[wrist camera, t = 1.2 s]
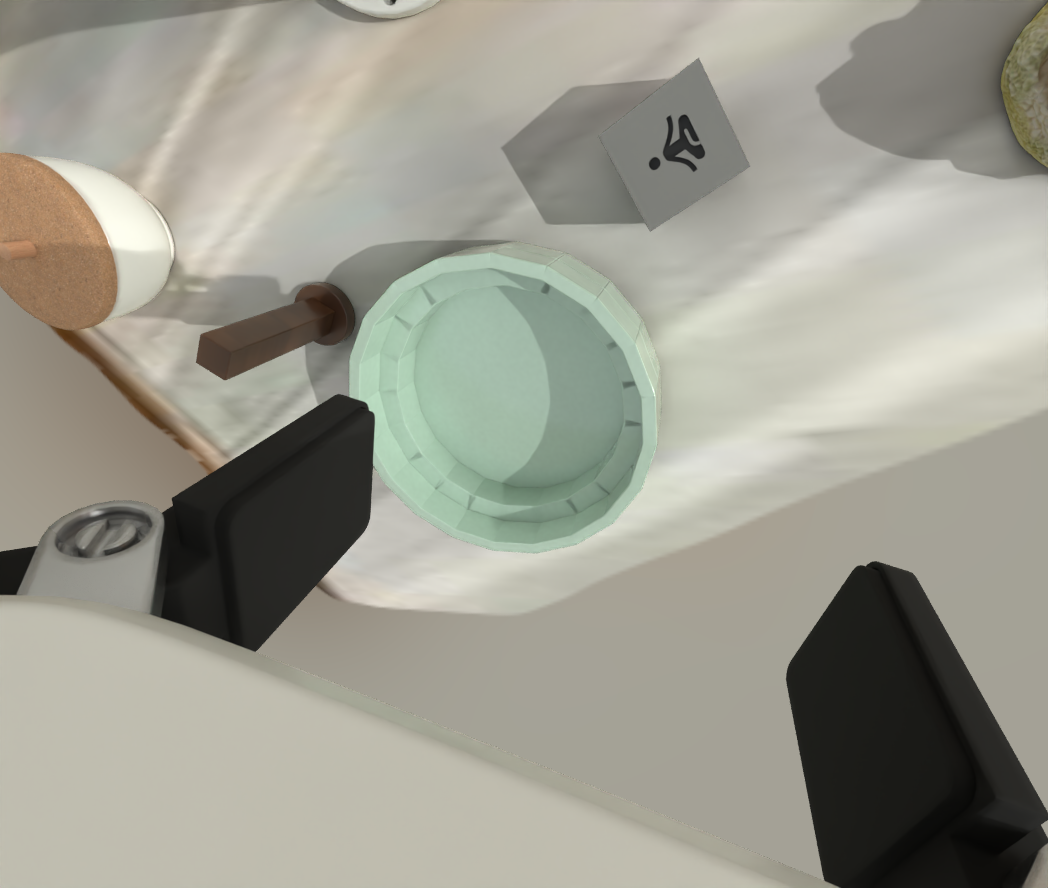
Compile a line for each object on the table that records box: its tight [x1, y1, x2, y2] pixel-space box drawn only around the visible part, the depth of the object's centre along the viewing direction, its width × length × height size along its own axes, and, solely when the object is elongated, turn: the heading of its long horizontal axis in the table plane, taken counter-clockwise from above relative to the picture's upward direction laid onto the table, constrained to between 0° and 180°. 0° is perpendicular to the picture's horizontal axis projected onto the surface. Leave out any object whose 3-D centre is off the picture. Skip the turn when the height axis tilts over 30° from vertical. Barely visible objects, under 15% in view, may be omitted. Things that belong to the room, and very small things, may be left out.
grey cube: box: [599, 58, 750, 231], centre depth 26 cm, size 5×5×5 cm
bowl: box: [349, 242, 661, 553], centre depth 35 cm, size 20×20×6 cm
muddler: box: [196, 282, 355, 380], centre depth 34 cm, size 4×4×11 cm
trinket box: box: [0, 153, 175, 330], centre depth 36 cm, size 11×11×9 cm
